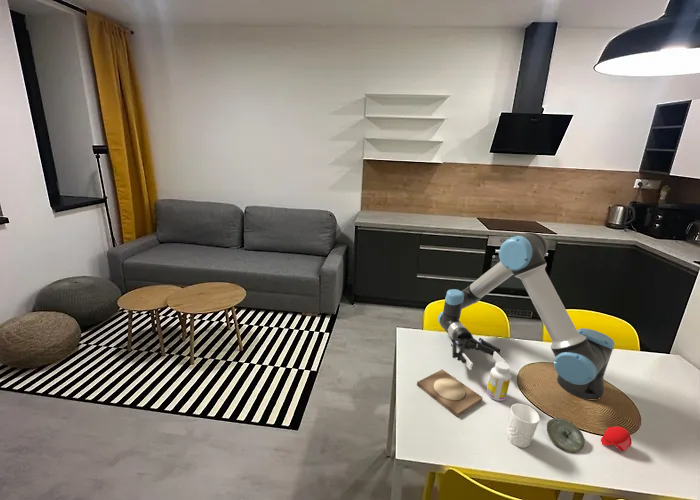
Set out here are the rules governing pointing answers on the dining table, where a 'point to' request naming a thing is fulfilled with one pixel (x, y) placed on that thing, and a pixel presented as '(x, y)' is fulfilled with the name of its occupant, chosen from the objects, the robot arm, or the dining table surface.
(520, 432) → the white cup
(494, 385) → the supplement bottle
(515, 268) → the robot arm
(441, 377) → the walnut board
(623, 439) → the cap
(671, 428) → the dining table surface
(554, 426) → the lid
